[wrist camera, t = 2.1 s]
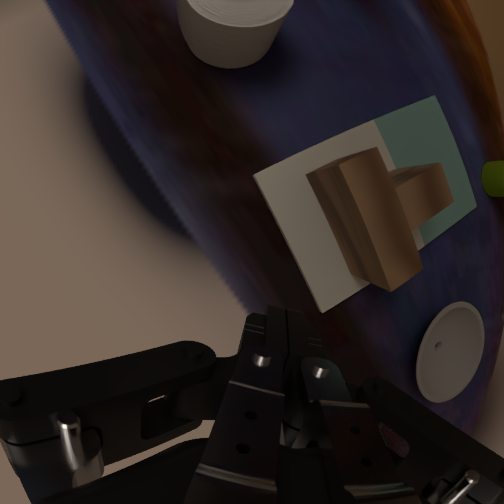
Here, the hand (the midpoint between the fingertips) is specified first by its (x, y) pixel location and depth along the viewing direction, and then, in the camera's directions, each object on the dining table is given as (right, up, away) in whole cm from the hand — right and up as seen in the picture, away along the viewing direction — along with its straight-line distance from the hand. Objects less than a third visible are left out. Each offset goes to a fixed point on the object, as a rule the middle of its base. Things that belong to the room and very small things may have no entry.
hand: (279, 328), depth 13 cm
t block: (+13, +9, +24) cm, 29 cm away
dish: (+28, -11, +30) cm, 43 cm away
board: (+16, +11, +25) cm, 32 cm away
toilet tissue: (-5, +30, +19) cm, 36 cm away
